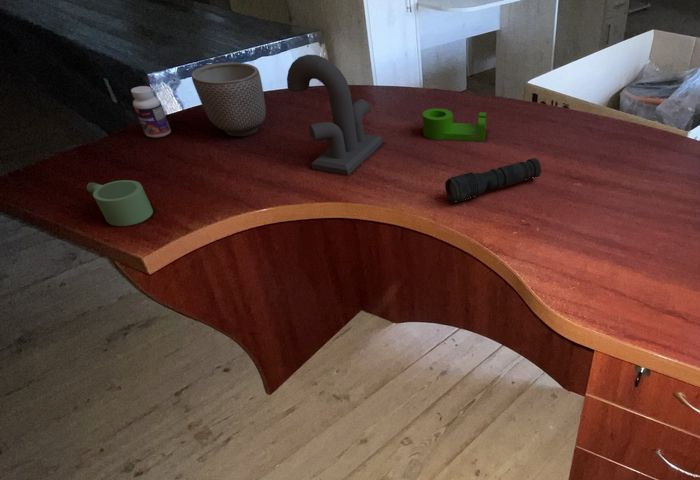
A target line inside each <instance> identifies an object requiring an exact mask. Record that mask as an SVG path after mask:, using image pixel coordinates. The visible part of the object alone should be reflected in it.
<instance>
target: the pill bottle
mask: <svg viewBox="0 0 700 480" xmlns="http://www.w3.org/2000/svg"><path fill="white" fill-rule="evenodd" d="M130 92H131V95H132V97H133V99H134V100H133V101H132V106H133V108H134V111H135V113H136V115H137V118H138V121H139V122H140V125H141V128H142V129H143V133H144V135H145V136H146V137H149V138H163V137H166V136H169V134H171V132H172V129H171V126H170V124H169V120H168V119H167V115H166V113H165V110H164V108H163V105H162V102H161V100H160V99H159V97H157V96H155V94H154V92H153V89H152V87H151V86H147V85H140V86H136V87H132V88H131V89H130Z"/></svg>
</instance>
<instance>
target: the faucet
mask: <svg viewBox="0 0 700 480" xmlns="http://www.w3.org/2000/svg"><path fill="white" fill-rule="evenodd" d="M311 80H317V81H319V82H320V83H322V85H323V86H324V87H325V89H326V90H327V93H328V98H329V104H330V105H329V106H330V109H331V116H332V122H331V121H322V122H317V123H312V124H311V123H310V124H309V125H308V131H309V132H308V133H309V135H310V138H311V140H312V142H321V141H324V140H327V142H328V149H327V150H325V151H324V152H323V153H322V154H320V156H318V157H317V158H316V159H315V160H314V161H312V163H311V169H313V170H317V171H322V172H328V173H333V174H334V173H335V174H338V175H339V174H340V175H345V176H349V175H350V174H351V173H352V172H354V171H355V169H357V168H358V167H359V166H360V165H362V163H363V162H365V160H366V159H367V158H368V157H369V156H371V155H372V154H373V153H374V152H375V151H376V150H377V149H378V148H379V147H380V146H382V145H383V144H384V140H383V138H382V137H380V136H378V135H373V134H368V133H367V134H366V133H365V131H364V125H363V118H364V117H365V116H366V115H368V114H369V113H370V110H371V105H370V104H369V101H367V100H366V99H364V98H358V100H356V101H355V102H352V95H351V88H350V85H349V83H348V81H347V78H346V76H344V73H342V70H340V69H339V67H338V66H337V65H335V64H334V63H333V62H332V61H330V60H329V59H328V58H326V57H323V56H320V55H318V54H305V55H301V56H298V57H297V58H296V59H295V60H294V61H292V62H291V64H290V67H289V68H288V71H287V75H286V85H287V89H288V90H289V91H290V92H296V93H297V92H304V91H307V90H308V89H309V88H310V83H311Z"/></svg>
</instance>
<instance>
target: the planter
mask: <svg viewBox="0 0 700 480" xmlns="http://www.w3.org/2000/svg"><path fill="white" fill-rule="evenodd" d="M191 81H192V85H193V86H194V88H195V91H196V93H197V96H198V98H199V102H200V104H201V105H202V108H203V110H204V112H205V114H206V116H207V118H208V119H209V121H210V123H211V124H212V125H214V127H216V128H217V129H220V130H221V131H224V132H225V133H226V135H228V136H231V137H247V136H251V135H254V134H255V133H257V132H258V131H259V127H260V126H261V125H262V124H264V122H265V119H266V117H267V108H266V100H265V93H264V88H263V83H262V77H261V74H260V70H259V69H258V67H256V66H254V65H253V64H250V63H245V62H236V61H235V62H232V61H231V62H218V63H217V62H216V63H211V64H207V65H203V66H201V67H198V68H196V69H195V70H193V71H192V73H191Z"/></svg>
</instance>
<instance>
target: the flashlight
mask: <svg viewBox="0 0 700 480" xmlns="http://www.w3.org/2000/svg"><path fill="white" fill-rule="evenodd" d="M541 173H542V167H541V163H540V161H539V159H537V158H536V157H532V158H529V159H528V158H527V160H525V161H519V162H515V163H511V164H507V165H503V166H499V167H497V168H492V169H490V170H488V171H484V172H481V173H479V172H466V173H462V174H458V175H455V176H451V177H450V178H447V179H446V181H445V183H444V188H445V194H446V196H447V198H448V200H449V201H450V202H451V203H452V204H454V203H461V202H464V201H469V200H472V199H475V198H478V196H480V195H482V194H484V192H487V191H489V189H490V190H497V189H496V188H498V189H500V188H501V186H502V188H505V187H508V186H507V185H509V186H513V185H515V184H514V183H516V184H520V183H522V182H526V181H525V179H528V178H530V180H536V179H537V178H535V177H538V178H540V176H541ZM532 177H534V178H535V179H533V178H532ZM528 180H529V179H528ZM521 181H522V182H521ZM517 182H519V183H517ZM510 184H512V185H510ZM503 186H505V187H503ZM481 193H482V194H481ZM479 194H480V195H479ZM474 196H476V197H474ZM470 197H471V198H470ZM468 198H469V199H468ZM465 199H466V200H465ZM455 201H457V202H455Z"/></svg>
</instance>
